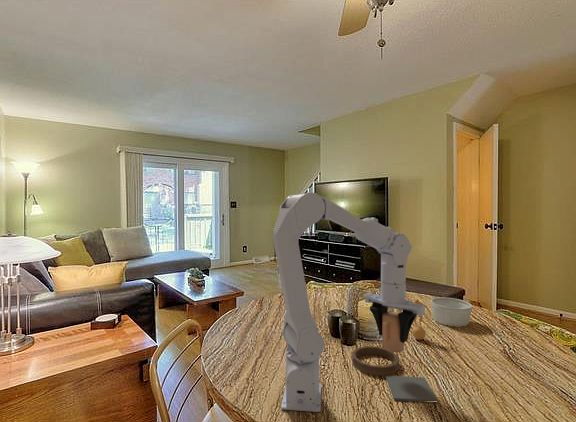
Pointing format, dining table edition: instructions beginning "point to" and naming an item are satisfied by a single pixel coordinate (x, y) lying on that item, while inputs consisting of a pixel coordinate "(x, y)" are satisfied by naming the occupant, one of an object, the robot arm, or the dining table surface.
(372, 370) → the dark brown ring
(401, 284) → the robot arm
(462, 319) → the ramekin
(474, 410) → the dining table surface
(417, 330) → the figurine
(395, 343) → the pink rounded pillar
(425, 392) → the charcoal mat
